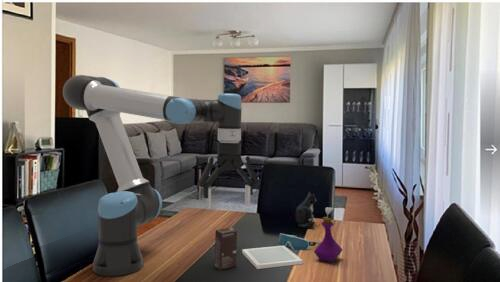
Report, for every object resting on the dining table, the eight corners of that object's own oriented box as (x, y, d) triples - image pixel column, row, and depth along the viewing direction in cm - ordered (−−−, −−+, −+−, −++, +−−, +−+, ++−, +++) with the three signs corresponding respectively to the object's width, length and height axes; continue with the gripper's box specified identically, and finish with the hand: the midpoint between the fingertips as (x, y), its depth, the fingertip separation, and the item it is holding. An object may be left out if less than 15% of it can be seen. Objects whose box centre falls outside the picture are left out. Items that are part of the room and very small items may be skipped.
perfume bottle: (334, 265, 137) (335, 211, 136) (313, 261, 141) (314, 208, 140) (342, 258, 144) (343, 207, 143) (321, 254, 148) (323, 204, 146)
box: (221, 270, 132) (221, 233, 131) (214, 266, 136) (214, 229, 135) (237, 266, 135) (237, 230, 134) (230, 262, 139) (230, 227, 138)
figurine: (322, 228, 180) (323, 194, 179) (301, 231, 177) (302, 196, 176) (311, 223, 189) (312, 190, 188) (291, 225, 186) (292, 191, 185)
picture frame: (257, 269, 134) (257, 265, 133) (242, 252, 149) (242, 249, 149) (302, 263, 139) (302, 260, 138) (283, 248, 154) (283, 245, 154)
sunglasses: (272, 245, 159) (273, 231, 159) (294, 241, 170) (295, 228, 170) (303, 253, 150) (305, 239, 150) (324, 248, 161) (325, 235, 161)
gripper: (195, 143, 127) (194, 212, 128) (269, 142, 137) (267, 206, 138) (188, 141, 134) (188, 206, 135) (259, 140, 143) (258, 201, 145)
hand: (228, 206), depth 137 cm, fingers open, 13 cm apart
